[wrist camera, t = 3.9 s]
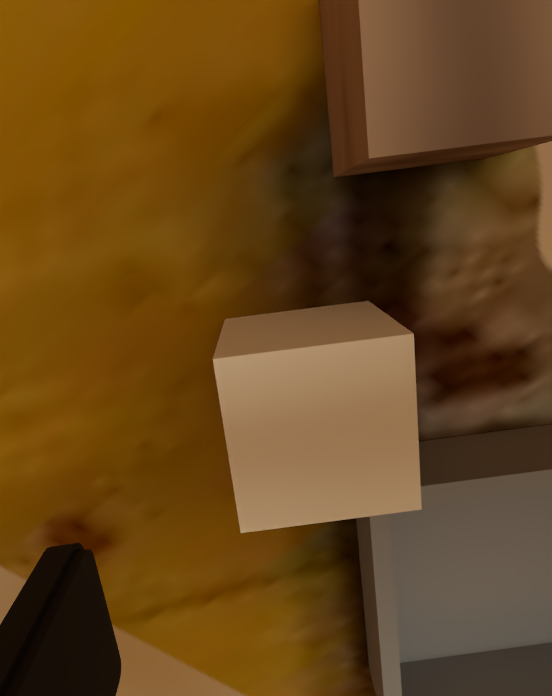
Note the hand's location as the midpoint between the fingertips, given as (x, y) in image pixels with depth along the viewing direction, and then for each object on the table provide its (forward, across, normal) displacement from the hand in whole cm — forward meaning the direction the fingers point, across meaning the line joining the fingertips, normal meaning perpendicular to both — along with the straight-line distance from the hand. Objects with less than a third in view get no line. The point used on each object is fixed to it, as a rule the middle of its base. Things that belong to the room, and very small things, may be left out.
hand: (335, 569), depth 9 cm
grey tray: (+11, -9, +10) cm, 18 cm away
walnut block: (+12, -6, -11) cm, 17 cm away
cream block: (+12, -1, 0) cm, 12 cm away
